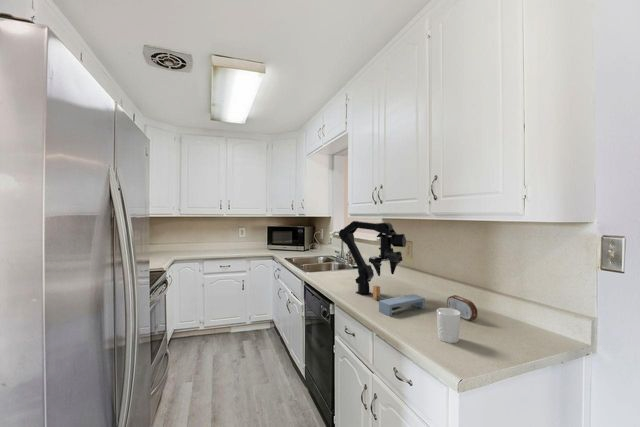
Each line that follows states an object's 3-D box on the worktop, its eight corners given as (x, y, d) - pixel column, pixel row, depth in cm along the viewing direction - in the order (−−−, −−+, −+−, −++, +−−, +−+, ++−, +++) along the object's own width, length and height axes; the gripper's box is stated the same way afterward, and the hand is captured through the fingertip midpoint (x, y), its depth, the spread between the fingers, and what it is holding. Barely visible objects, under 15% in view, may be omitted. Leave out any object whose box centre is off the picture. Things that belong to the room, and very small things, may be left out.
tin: (478, 322, 120) (478, 302, 120) (472, 323, 119) (472, 303, 119) (451, 311, 134) (451, 292, 134) (445, 311, 133) (445, 293, 133)
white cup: (431, 336, 106) (431, 309, 106) (447, 333, 110) (447, 306, 110) (449, 345, 99) (449, 316, 99) (465, 341, 102) (465, 313, 102)
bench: (378, 311, 133) (378, 300, 133) (413, 304, 144) (413, 294, 144) (389, 316, 127) (389, 304, 127) (424, 308, 138) (424, 297, 138)
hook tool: (366, 300, 149) (366, 287, 149) (376, 298, 153) (376, 285, 153) (388, 309, 136) (388, 294, 136) (399, 307, 140) (399, 292, 140)
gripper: (382, 248, 144) (382, 280, 144) (409, 246, 152) (409, 276, 153) (368, 246, 154) (368, 275, 154) (395, 244, 162) (395, 272, 162)
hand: (385, 275), depth 155 cm, fingers open, 9 cm apart
